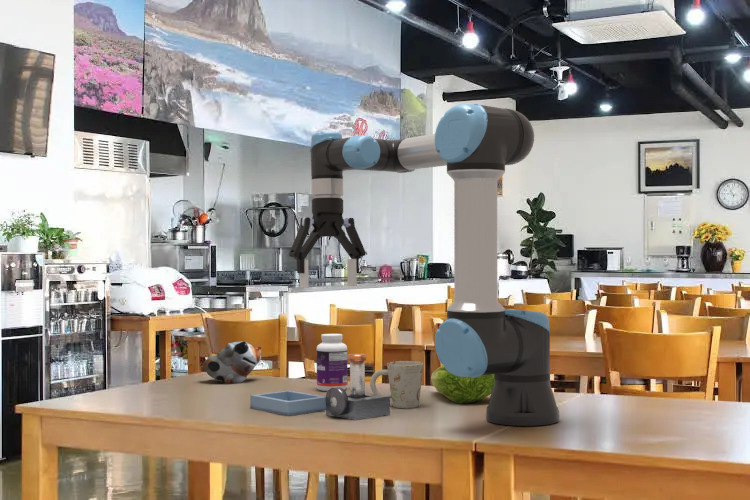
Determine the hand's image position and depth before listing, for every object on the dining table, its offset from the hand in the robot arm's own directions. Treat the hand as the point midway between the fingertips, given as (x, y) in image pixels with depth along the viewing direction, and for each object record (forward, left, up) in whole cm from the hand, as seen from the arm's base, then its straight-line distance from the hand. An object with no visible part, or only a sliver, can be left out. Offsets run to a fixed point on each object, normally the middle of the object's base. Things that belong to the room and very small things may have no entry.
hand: (328, 286), depth 236 cm
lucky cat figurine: (+51, -5, -28) cm, 58 cm away
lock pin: (-18, +6, -28) cm, 34 cm away
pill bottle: (+17, -14, -28) cm, 35 cm away
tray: (-1, +13, -28) cm, 30 cm away
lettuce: (-16, -27, -28) cm, 42 cm away
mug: (-15, -8, -28) cm, 33 cm away
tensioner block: (-18, +6, -28) cm, 34 cm away
